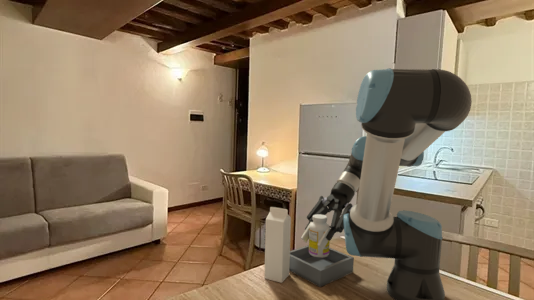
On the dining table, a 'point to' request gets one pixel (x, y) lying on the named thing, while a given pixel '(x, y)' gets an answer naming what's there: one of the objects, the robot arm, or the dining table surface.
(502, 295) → the dining table surface
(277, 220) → the milk
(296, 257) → the open box
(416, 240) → the robot arm
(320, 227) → the supplement bottle
